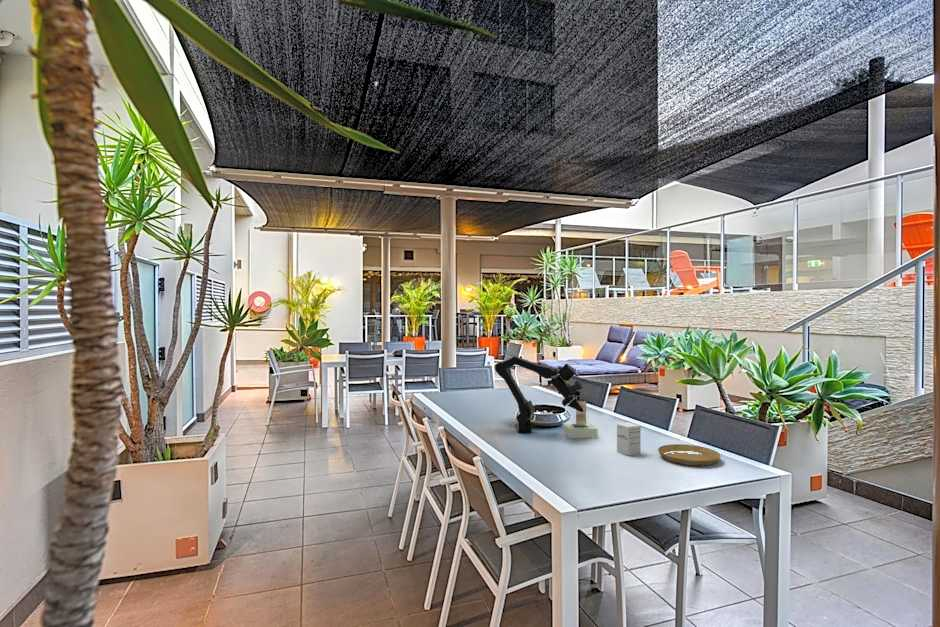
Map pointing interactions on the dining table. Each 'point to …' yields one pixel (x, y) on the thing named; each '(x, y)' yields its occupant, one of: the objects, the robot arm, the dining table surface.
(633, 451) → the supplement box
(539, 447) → the dining table surface
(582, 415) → the maple block
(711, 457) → the plant saucer
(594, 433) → the slot box
